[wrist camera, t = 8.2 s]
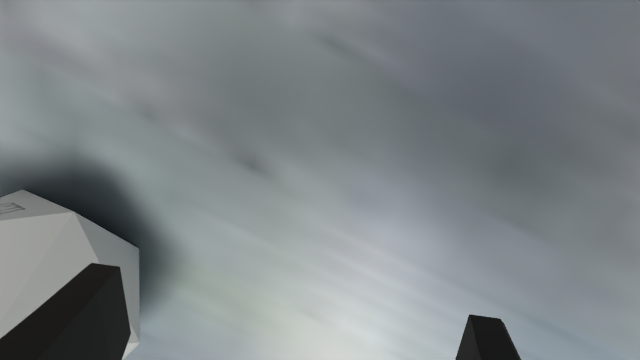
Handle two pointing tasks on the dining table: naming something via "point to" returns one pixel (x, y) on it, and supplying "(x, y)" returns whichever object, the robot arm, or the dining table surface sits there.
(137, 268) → the die
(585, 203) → the dining table surface
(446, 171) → the dining table surface
